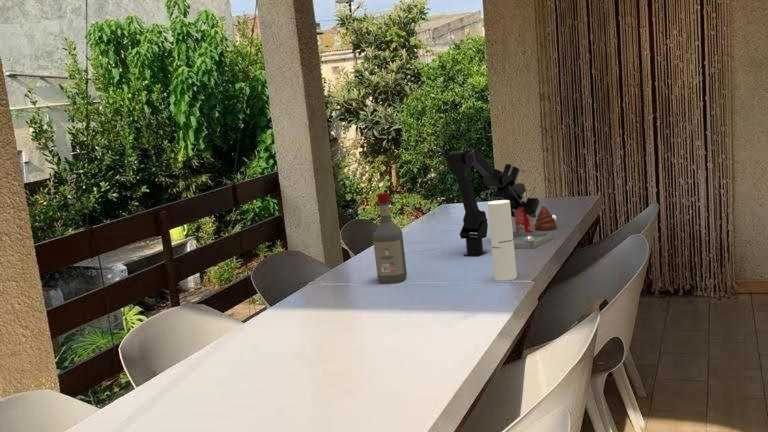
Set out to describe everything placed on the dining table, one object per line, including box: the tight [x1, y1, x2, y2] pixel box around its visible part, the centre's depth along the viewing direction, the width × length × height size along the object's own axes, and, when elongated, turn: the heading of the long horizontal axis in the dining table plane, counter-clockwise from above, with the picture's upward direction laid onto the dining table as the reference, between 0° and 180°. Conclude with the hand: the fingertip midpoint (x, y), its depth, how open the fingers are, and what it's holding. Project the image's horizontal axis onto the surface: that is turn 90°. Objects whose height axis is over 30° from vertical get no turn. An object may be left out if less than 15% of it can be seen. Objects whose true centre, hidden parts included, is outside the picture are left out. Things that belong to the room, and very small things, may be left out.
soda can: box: [513, 207, 534, 233], centre depth 340 cm, size 7×7×12 cm
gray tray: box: [513, 231, 555, 250], centre depth 325 cm, size 18×16×2 cm
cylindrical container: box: [487, 200, 518, 282], centre depth 274 cm, size 7×7×25 cm
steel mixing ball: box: [524, 235, 534, 243], centre depth 318 cm, size 4×4×4 cm
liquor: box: [372, 192, 408, 285], centre depth 289 cm, size 9×9×30 cm
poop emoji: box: [533, 205, 558, 232], centre depth 347 cm, size 10×8×9 cm
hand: (525, 216), depth 341 cm, fingers open, 9 cm apart
